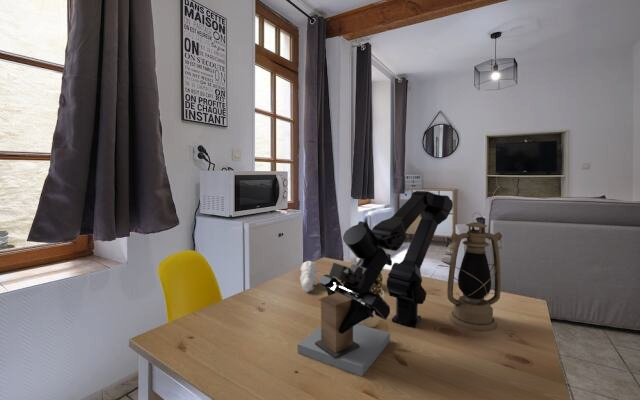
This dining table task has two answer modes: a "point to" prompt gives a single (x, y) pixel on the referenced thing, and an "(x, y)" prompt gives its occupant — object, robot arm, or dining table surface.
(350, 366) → the slate board
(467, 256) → the lantern
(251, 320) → the dining table surface
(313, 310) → the dining table surface
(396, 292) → the robot arm
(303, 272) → the white lumpy upright piece
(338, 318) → the walnut peg
